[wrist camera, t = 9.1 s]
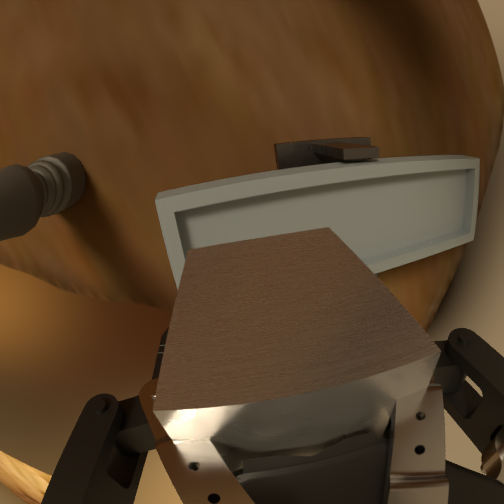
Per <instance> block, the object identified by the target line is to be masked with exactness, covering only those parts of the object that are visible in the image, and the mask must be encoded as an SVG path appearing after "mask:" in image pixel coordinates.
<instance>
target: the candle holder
mask: <svg viewBox="0 0 504 504" xmlns="http://www.w3.org/2000/svg"><path fill="white" fill-rule="evenodd" d="M85 185H86V177H85V170H84V168H83V166H82V164H81V162H80V161H79V160H78V159H77V158H76V157H75V156H74V155H72V154H69V153H65V152H64V153H59V154H54V155H50V156H45V157H41V158H40V159H39V160H37V161H35V162H33V163H32V164H30V165H29V166H28V167H24V166H21V165H17V164H15V165H11V166H8V167H4V168H2V169H1V170H0V241H2V240H6V239H10V238H14V237H18V236H23V235H24V234H26V233H27V232H29V231H30V230H31V229H32V228H34V227H35V225H36V224H37V222H38V220H39V218H40V217H46V216H50V215H54V214H58V213H60V212H62V211H63V210H65V209H67V208H68V207H70V206H72V205H73V204H75V203H76V202H78V201H79V199H80V198H81V196H82V194H83V193H84V189H85Z"/></svg>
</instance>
